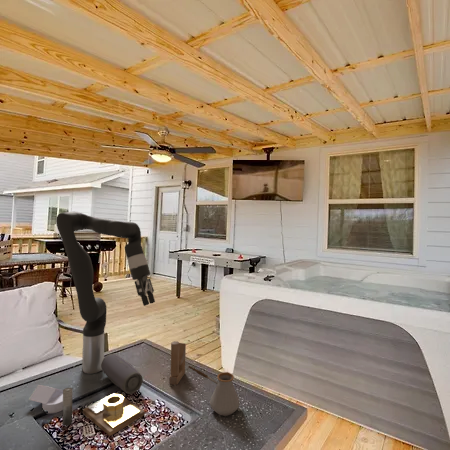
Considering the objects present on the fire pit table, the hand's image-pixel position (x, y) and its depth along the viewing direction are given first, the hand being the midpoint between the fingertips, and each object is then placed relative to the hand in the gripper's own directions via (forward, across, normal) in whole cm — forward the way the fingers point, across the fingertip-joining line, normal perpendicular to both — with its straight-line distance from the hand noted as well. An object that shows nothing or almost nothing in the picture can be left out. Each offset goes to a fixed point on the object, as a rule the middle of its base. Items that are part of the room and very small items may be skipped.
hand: (149, 304), depth 127 cm
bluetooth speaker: (+29, -12, -25) cm, 40 cm away
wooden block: (+36, -18, -3) cm, 40 cm away
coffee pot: (+45, 0, +12) cm, 47 cm away
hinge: (+32, +8, -21) cm, 40 cm away
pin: (+30, +13, -36) cm, 48 cm away
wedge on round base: (+24, +4, -46) cm, 52 cm away
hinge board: (+34, +7, -22) cm, 41 cm away
